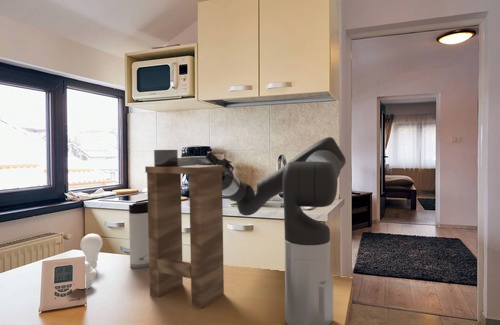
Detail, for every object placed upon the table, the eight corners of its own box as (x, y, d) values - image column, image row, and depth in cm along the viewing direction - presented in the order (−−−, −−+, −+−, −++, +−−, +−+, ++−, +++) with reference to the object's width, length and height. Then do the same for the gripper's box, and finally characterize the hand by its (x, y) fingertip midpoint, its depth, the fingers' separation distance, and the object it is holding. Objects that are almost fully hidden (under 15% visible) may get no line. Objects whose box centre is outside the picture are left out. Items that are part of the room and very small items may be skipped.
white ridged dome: (99, 282, 95) (99, 257, 95) (92, 291, 89) (91, 264, 89) (76, 283, 94) (75, 258, 94) (66, 293, 88) (66, 265, 88)
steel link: (215, 163, 99) (214, 149, 99) (167, 166, 82) (166, 149, 81) (199, 163, 102) (198, 149, 101) (149, 166, 84) (149, 150, 84)
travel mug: (146, 268, 105) (144, 203, 105) (126, 267, 107) (124, 202, 106) (155, 262, 112) (154, 200, 111) (136, 261, 113) (135, 199, 112)
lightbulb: (107, 268, 106) (106, 232, 106) (89, 274, 101) (87, 237, 101) (95, 265, 109) (94, 230, 109) (76, 271, 104) (75, 234, 104)
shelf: (224, 293, 87) (223, 165, 86) (200, 309, 78) (198, 167, 77) (175, 282, 95) (173, 164, 93) (148, 295, 86) (145, 166, 85)
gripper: (207, 168, 113) (178, 143, 100) (246, 169, 106) (220, 142, 93) (201, 189, 110) (170, 166, 97) (240, 192, 103) (212, 167, 90)
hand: (194, 154), depth 95 cm, fingers open, 8 cm apart
